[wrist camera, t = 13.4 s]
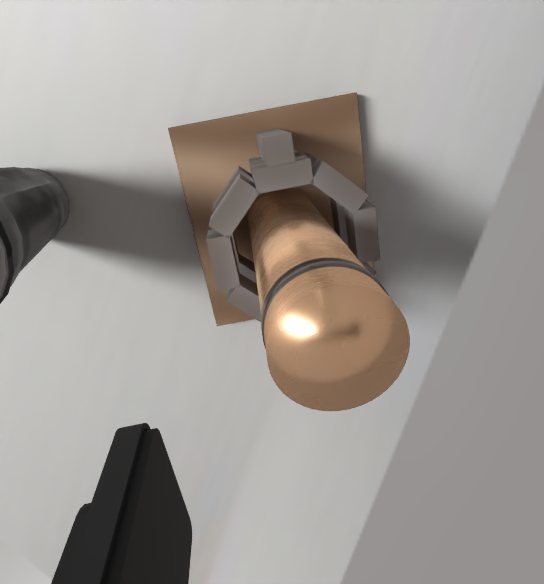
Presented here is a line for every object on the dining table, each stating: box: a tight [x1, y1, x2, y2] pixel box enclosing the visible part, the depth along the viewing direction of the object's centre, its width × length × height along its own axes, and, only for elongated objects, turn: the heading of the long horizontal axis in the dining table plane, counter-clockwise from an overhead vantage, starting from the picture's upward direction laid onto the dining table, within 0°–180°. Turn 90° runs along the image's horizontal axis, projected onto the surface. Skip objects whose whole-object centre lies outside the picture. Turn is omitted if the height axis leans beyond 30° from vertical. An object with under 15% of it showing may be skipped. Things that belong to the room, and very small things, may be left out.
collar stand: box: [168, 92, 380, 326], centre depth 28 cm, size 14×12×8 cm
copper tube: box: [248, 187, 410, 411], centre depth 22 cm, size 5×5×18 cm
